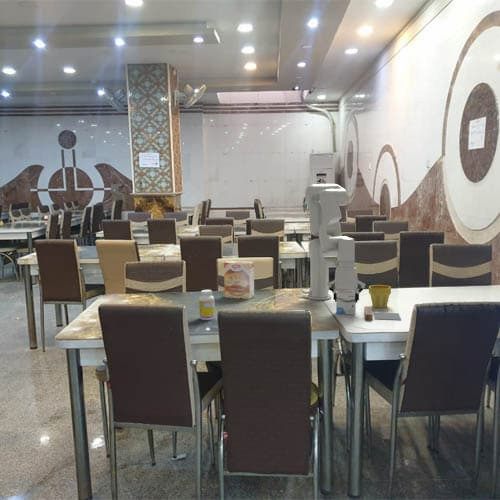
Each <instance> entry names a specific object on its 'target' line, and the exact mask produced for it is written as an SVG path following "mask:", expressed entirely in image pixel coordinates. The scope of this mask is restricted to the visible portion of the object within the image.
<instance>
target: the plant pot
mask: <svg viewBox="0 0 500 500" xmlns="http://www.w3.org/2000/svg"><path fill="white" fill-rule="evenodd" d="M391 293H392V287H391V286H390V285H384V284H373V285H369V286H368V294H369V295H370V299H371V304H372V307H374V308H377V309H379V308H380V309H383V308H384V309H385V308H387V307H388V304H389V303H388V302H389V298H390V295H391Z"/></svg>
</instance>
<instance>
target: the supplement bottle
mask: <svg viewBox="0 0 500 500" xmlns="http://www.w3.org/2000/svg"><path fill="white" fill-rule="evenodd" d="M200 293H201V295H200V296H199V299H198V300H199V318H200V320H202V321H210V320H214V319H215V317H216V316H215V315H216V314H215V311H216V310H215V297H214V296H213V295H212V294H213V291H212V289H203V290H201V291H200Z"/></svg>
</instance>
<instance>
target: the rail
mask: <svg viewBox="0 0 500 500" xmlns="http://www.w3.org/2000/svg"><path fill="white" fill-rule="evenodd" d="M363 311H364V317H365V318H364V321H373V318H374V317H373V316H374V313H373V308H372V306H364V310H363Z"/></svg>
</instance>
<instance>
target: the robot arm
mask: <svg viewBox="0 0 500 500" xmlns="http://www.w3.org/2000/svg"><path fill="white" fill-rule="evenodd" d="M304 194H305V195H304V197H305V202H306V205H307V208H308V212H309V216H308V217H309V229H310V230H309V231H310V233H311V235H313V236H314V237H318V238H314V239H312V240H310V241H309V243H308V252H309V260H310V263H309V264H310V268H309V270H310V272H309V273H310V275H309V276H310V288H308V289H301V290H302V291H301V294H304V295H307V299H309V300H313V301H314V300H315V301H326V300H327V301H328V300H331V299H332V295H331V294H329V291H331V293H332V294H333V300H334V303H336V296H337V289H338V290H355V291H356V304H358V301H360V294H361V292H362V291H363V290H364V289H365V288H366V283H364V282H362V281H360V280H359V279H358V270H357V267H355V263H356V261H355V259H356V258H355V252H356V250H355V248H356V247H355V246H356V245H355V242H356V240H355V238H352V237H349V236H346V235H342V229H341V228H342V227H341V224H340V220H341V219H342V212H341V208H340V207H344V206H346V205H348V204H349V202H350V201H349V200H350V199H349V198H350V197H349V193H348V191H347V190H346V189H345V188H344V187H342V186H340V185H339V184H337V183H314V184H309V185H308V186H307V187H306V189H305V193H304ZM326 257H337V261H335V262H334V266H337V267H336V268H335V271H334V279H333V280H332V281H329V278H330V277H329V275H330V273H329V263H328V262H327V260H326V259H325V258H326ZM333 285H334V287H332V286H333ZM359 285H360V288H358V286H359Z"/></svg>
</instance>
